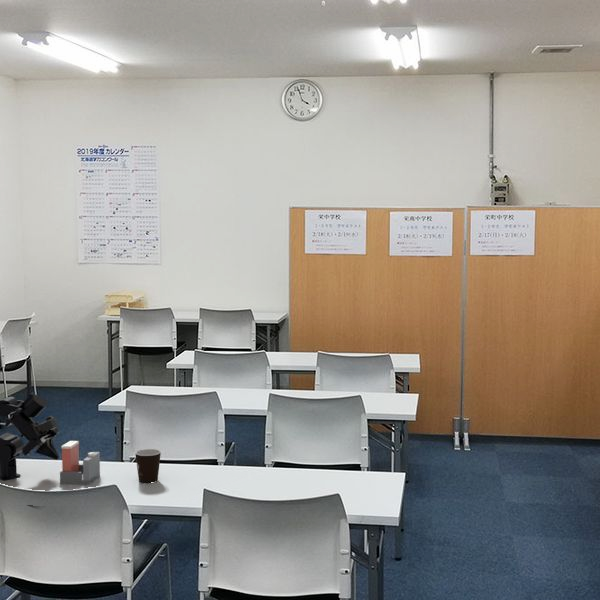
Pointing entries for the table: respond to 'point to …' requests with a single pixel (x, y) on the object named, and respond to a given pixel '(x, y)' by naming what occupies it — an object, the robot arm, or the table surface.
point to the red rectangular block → (70, 456)
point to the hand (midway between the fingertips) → (58, 458)
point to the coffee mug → (148, 465)
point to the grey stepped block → (83, 471)
